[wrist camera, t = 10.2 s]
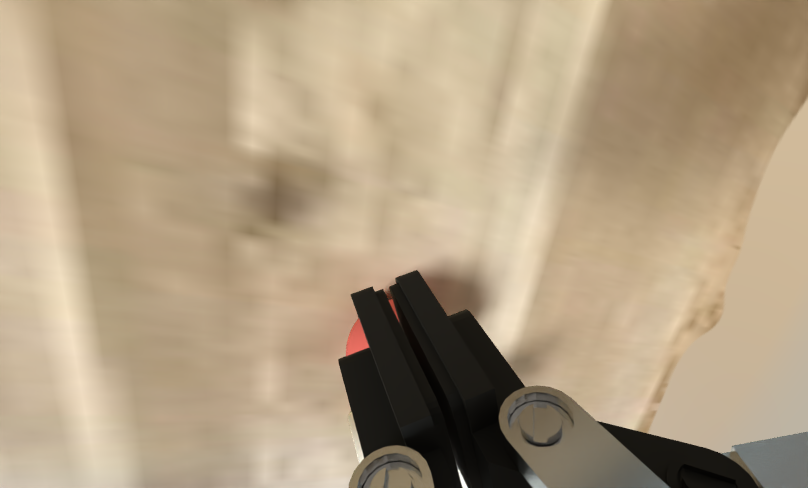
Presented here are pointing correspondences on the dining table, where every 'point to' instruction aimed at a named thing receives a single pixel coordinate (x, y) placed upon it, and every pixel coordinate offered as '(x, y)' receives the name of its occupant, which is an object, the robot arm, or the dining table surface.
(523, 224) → the dining table surface
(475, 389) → the robot arm
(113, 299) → the dining table surface
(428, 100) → the dining table surface
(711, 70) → the dining table surface
